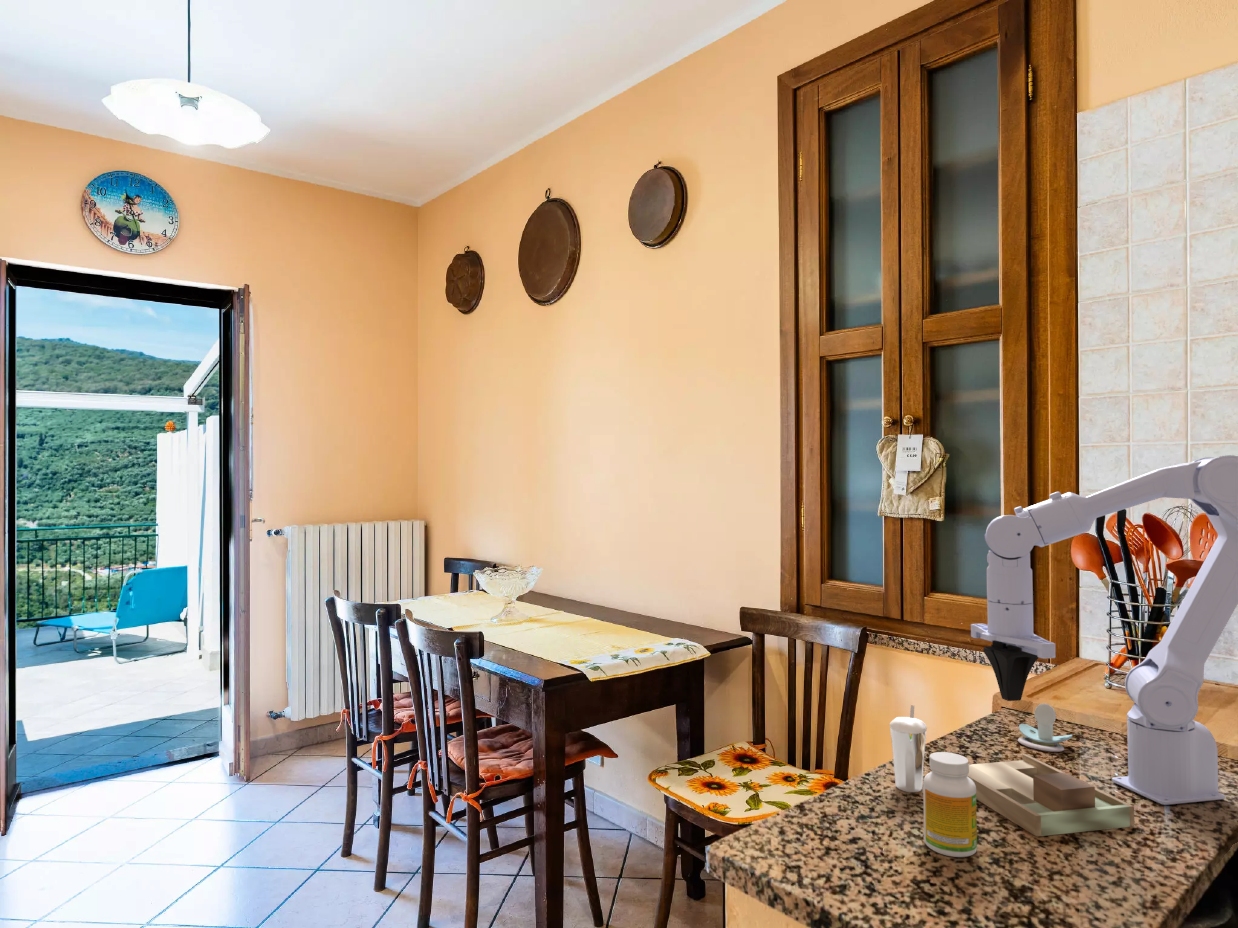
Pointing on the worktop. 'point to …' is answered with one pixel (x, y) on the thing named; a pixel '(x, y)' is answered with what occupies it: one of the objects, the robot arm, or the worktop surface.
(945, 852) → the supplement bottle
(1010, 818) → the tray
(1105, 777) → the worktop surface
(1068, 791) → the walnut block
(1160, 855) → the worktop surface
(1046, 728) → the pacifier
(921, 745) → the milkshake
